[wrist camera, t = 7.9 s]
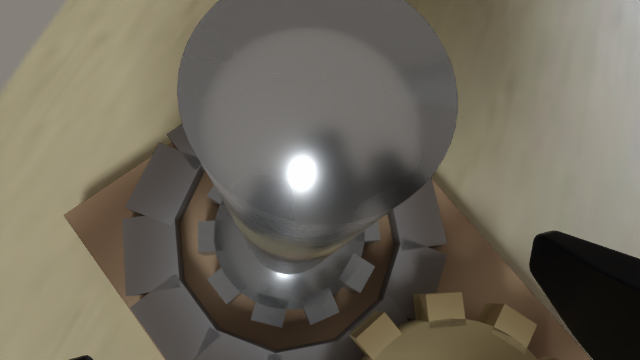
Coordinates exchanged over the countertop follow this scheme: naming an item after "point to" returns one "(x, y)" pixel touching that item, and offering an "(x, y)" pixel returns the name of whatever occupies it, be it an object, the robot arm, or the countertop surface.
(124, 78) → the countertop surface
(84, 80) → the countertop surface
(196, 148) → the gear
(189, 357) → the gear board
